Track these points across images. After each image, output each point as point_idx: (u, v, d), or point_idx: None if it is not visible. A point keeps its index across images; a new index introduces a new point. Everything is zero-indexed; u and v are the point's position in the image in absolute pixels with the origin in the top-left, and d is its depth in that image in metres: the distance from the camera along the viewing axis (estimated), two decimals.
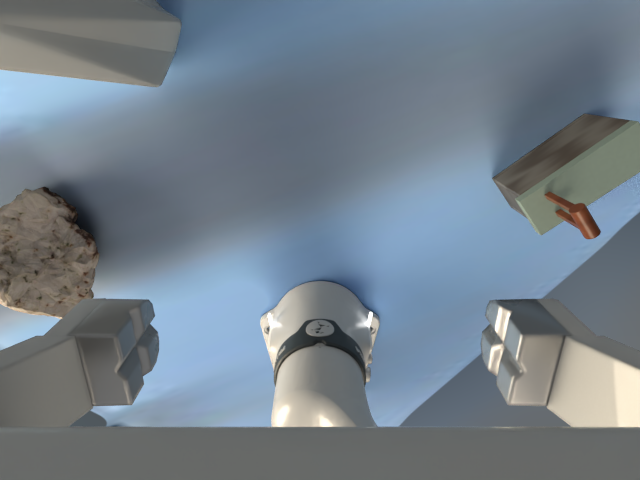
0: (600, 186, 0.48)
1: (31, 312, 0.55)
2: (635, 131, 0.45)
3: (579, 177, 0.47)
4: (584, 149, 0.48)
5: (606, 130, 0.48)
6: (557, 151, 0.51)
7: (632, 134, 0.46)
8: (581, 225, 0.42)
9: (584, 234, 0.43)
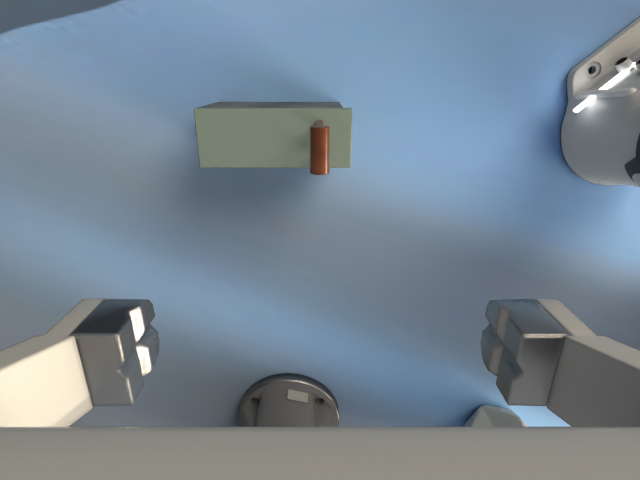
0: (263, 122, 0.38)
1: None
2: (206, 159, 0.40)
3: (280, 149, 0.39)
4: None
5: None
6: None
7: (210, 158, 0.40)
8: (327, 152, 0.33)
9: (328, 136, 0.33)
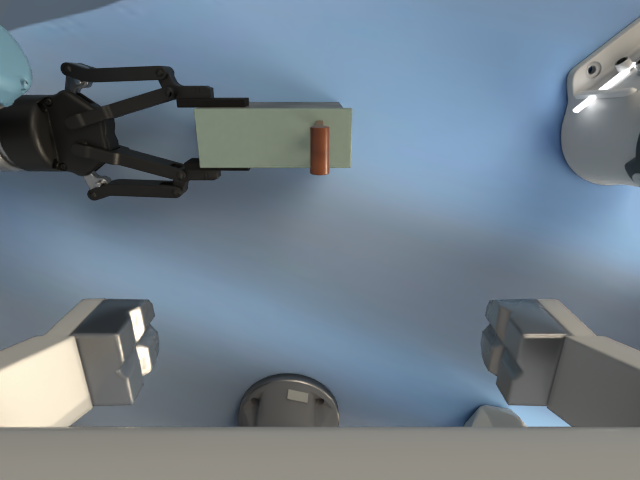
0: (263, 123, 0.38)
1: None
2: (206, 159, 0.40)
3: (280, 149, 0.39)
4: None
5: None
6: None
7: (210, 158, 0.40)
8: (327, 152, 0.33)
9: (328, 136, 0.33)
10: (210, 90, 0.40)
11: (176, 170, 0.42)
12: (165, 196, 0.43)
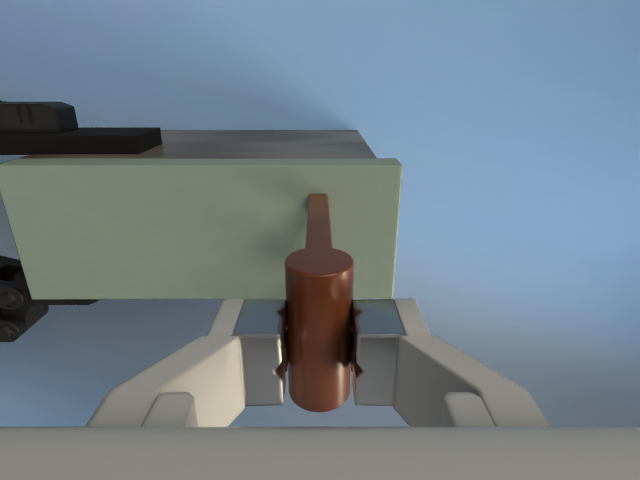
0: (176, 199, 0.15)
1: None
2: (43, 282, 0.16)
3: (222, 260, 0.16)
4: None
5: None
6: None
7: (53, 279, 0.16)
8: (345, 343, 0.10)
9: (351, 294, 0.09)
10: (59, 113, 0.17)
11: (0, 288, 0.19)
12: None
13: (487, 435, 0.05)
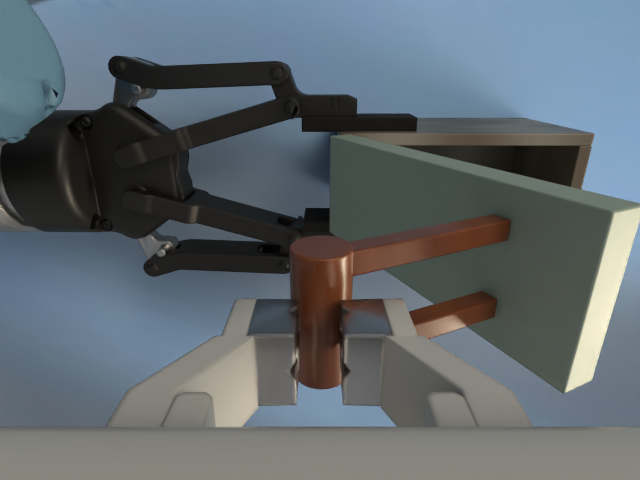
0: (400, 185, 0.17)
1: None
2: (335, 222, 0.23)
3: None
4: None
5: None
6: None
7: (338, 222, 0.23)
8: (315, 331, 0.10)
9: (323, 288, 0.10)
10: (356, 102, 0.24)
11: (289, 232, 0.26)
12: (267, 271, 0.27)
13: (487, 435, 0.05)
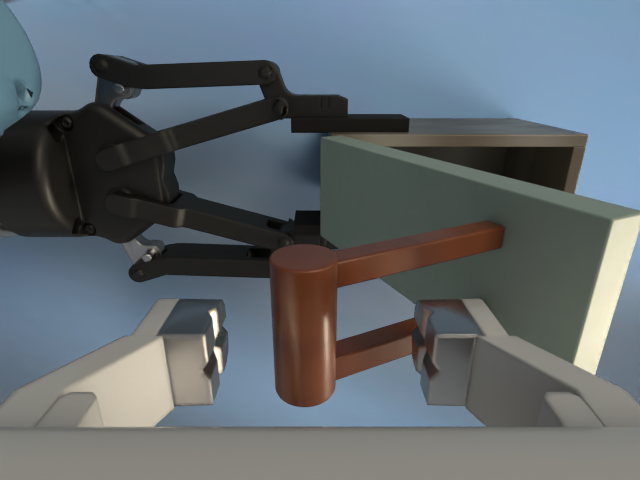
0: (391, 188, 0.16)
1: None
2: (325, 225, 0.22)
3: None
4: None
5: None
6: None
7: (329, 226, 0.22)
8: (297, 346, 0.09)
9: (305, 301, 0.09)
10: None
11: (279, 235, 0.25)
12: (257, 275, 0.26)
13: (487, 435, 0.05)
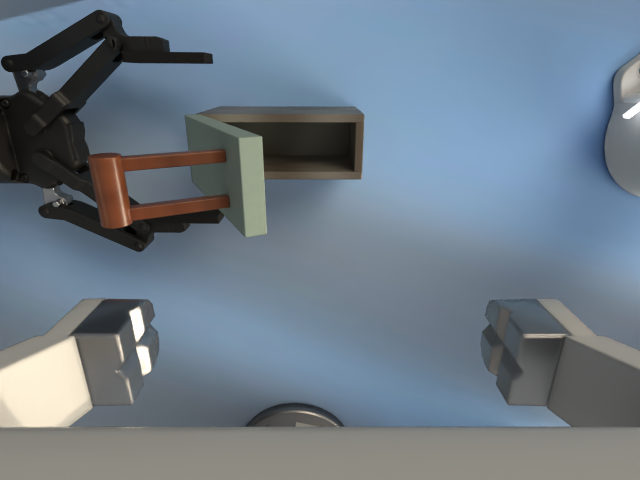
0: (203, 141, 0.28)
1: None
2: (192, 174, 0.34)
3: (212, 181, 0.28)
4: None
5: None
6: None
7: (193, 173, 0.34)
8: (102, 196, 0.21)
9: (100, 172, 0.21)
10: (164, 42, 0.33)
11: (141, 222, 0.38)
12: (125, 245, 0.39)
13: (487, 435, 0.05)
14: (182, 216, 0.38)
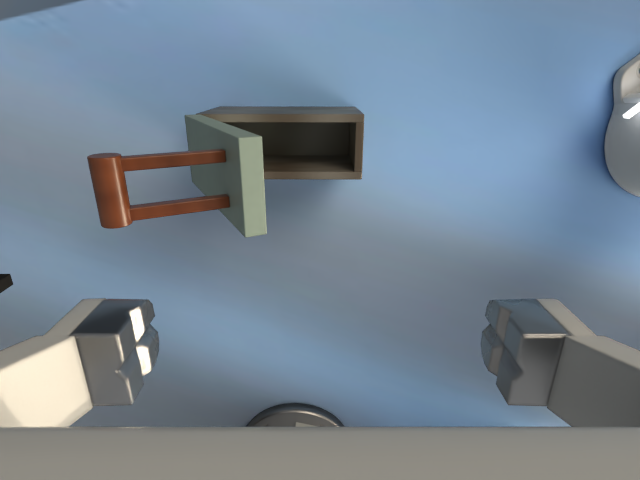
0: (203, 141, 0.28)
1: None
2: (192, 174, 0.34)
3: (212, 181, 0.28)
4: None
5: None
6: None
7: (193, 173, 0.34)
8: (101, 196, 0.21)
9: (101, 172, 0.21)
10: None
11: None
12: None
13: (487, 435, 0.05)
14: None
